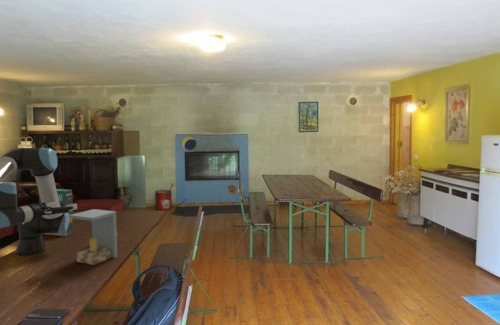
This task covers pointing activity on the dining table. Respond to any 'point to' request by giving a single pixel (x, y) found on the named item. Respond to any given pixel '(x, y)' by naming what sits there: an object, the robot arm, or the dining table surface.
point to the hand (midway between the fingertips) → (66, 205)
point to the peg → (93, 244)
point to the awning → (102, 227)
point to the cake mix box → (64, 200)
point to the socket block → (93, 256)
